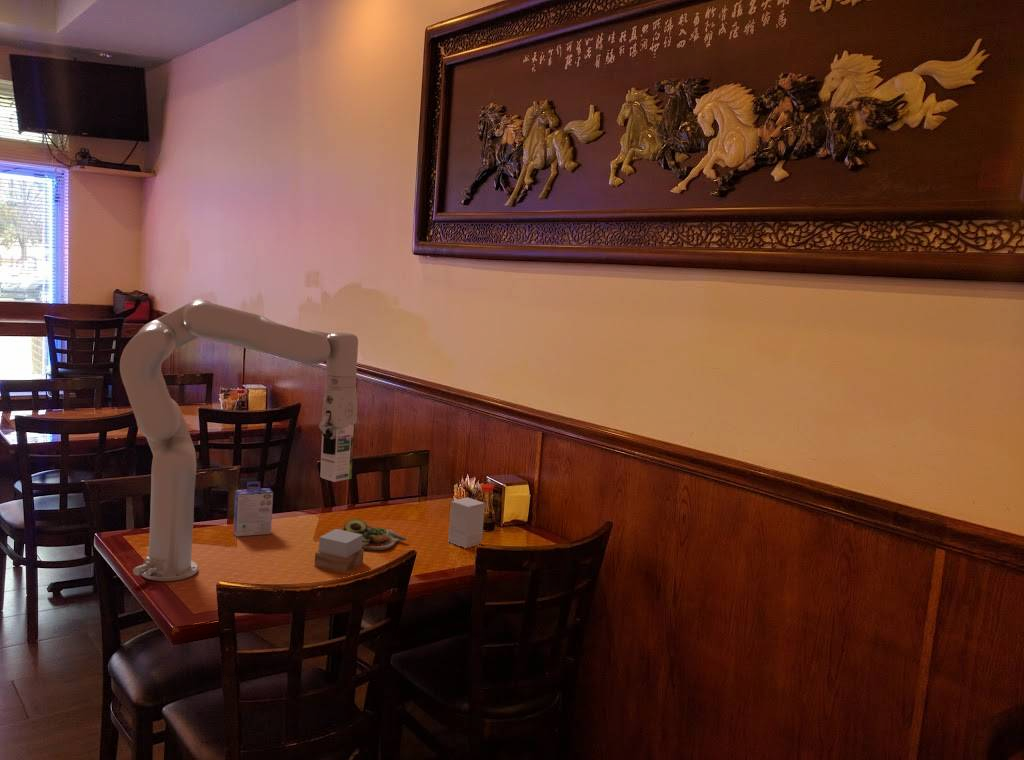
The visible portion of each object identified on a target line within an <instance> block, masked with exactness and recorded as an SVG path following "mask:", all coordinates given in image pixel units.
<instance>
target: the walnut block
mask: <svg viewBox="0 0 1024 760" xmlns="http://www.w3.org/2000/svg"><path fill="white" fill-rule="evenodd" d="M364 551H365V550H364V549H361V550H359V551H358V552H356V553H354V554H352V555H351V556H349V557H347V558H342V557H338V556H333V555H329V554H325V553H321V552H319V550H318V551H316V552H315V553H314V568H320V569H323V570H328V571H332V572H337V573H341V574H347V573H349V572H350V571H352V570H353V569H355V568H357V567H358V566H360V565H361V564H363V563H364Z"/></svg>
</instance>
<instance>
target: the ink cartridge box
mask: <svg viewBox="0 0 1024 760" xmlns="http://www.w3.org/2000/svg"><path fill="white" fill-rule="evenodd" d="M253 484H254V485H257V486H250V485H253ZM273 501H274V491H273V490H272V489H271V488H270V487H266V488H265V487H264V488H262V487H261V481H259V480H258V481H257V480H256V481H246V489H236V490H235V491H234V510H233V511H234V513H233V515H234V517H233V528H232V532H233V534H234V536H235V537H247V536H257V535H258V536H259V535H270V534H272V520H273V503H274V502H273Z"/></svg>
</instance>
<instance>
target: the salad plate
mask: <svg viewBox="0 0 1024 760" xmlns="http://www.w3.org/2000/svg"><path fill="white" fill-rule="evenodd" d="M342 530H344V531H349V532H353V533H358V534H362V535H363V537H362V549H364V551H365V550H366V551H384V549H385V550H388V548H389V549H390V547H391V548H392V547H393V546H394V545H395V544H396V543H397V542H400V541H407V538H406V537H404V536H401V535H398V534H397V532H395V531H393V530H391V529H387V528H382V527H380V526H378V527H372V526H370V525H367V523H366V522H365V521H364V520H363V519H360V518H359V519H358V518H353V519H350V520H348V521H347V522H345V524H344V525H343V529H342ZM373 543H374V544H373ZM375 543H376V544H375ZM381 544H383V546H382V545H381ZM368 545H376V546H368ZM378 545H380V546H378Z"/></svg>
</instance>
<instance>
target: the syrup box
mask: <svg viewBox="0 0 1024 760" xmlns="http://www.w3.org/2000/svg"><path fill="white" fill-rule="evenodd" d="M330 426H333V425H331V424H330ZM354 427H355V425H354V424H350V425H349V426H347V427H345V428H342V429H337V428H336V434H335V437H334V439H336V447H335V454H334V455H330V454H325V453H323V441H324V438H323V437H322V436H323V434H322V433H321V447H320V448H321V451H320V453H321V454H320V475H319V476H320V478H321V479H324V480H327V481H330V482H333V483H337V482H341V481H345V480H351V479H352V475H353V473H352V472H353V454H354V449H353V448H354V431H355V430H354V429H355V428H354ZM329 430H330V432H331V433H332V429H329Z"/></svg>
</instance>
